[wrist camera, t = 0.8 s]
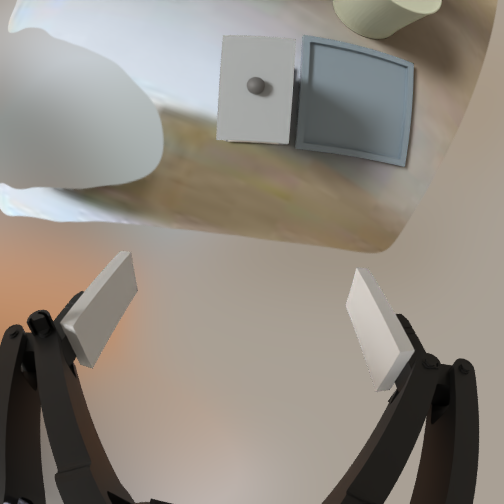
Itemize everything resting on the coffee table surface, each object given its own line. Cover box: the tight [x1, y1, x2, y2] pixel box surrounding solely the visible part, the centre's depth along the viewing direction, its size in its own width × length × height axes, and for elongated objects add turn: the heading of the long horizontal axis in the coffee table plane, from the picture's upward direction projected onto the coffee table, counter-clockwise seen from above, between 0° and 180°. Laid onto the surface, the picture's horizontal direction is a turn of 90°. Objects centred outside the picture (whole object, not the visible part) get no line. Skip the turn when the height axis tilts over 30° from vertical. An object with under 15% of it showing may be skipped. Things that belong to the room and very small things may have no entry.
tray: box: [295, 35, 414, 167], centre depth 27 cm, size 15×15×1 cm
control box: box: [217, 35, 296, 145], centre depth 22 cm, size 10×7×15 cm
